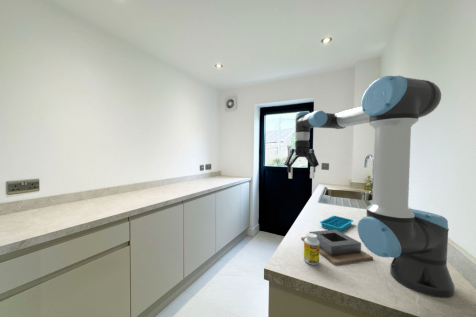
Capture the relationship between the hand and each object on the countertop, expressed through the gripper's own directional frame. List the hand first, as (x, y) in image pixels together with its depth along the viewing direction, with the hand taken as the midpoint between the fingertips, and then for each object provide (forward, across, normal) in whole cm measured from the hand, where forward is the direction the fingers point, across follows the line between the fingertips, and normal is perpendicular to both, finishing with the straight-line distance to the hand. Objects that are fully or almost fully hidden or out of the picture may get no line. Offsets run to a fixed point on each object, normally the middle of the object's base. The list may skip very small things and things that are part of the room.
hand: (301, 178), depth 107 cm
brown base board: (+28, -2, +24) cm, 37 cm away
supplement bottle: (+28, +14, +31) cm, 44 cm away
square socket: (+28, -2, +24) cm, 37 cm away
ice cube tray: (+28, -23, +1) cm, 37 cm away
